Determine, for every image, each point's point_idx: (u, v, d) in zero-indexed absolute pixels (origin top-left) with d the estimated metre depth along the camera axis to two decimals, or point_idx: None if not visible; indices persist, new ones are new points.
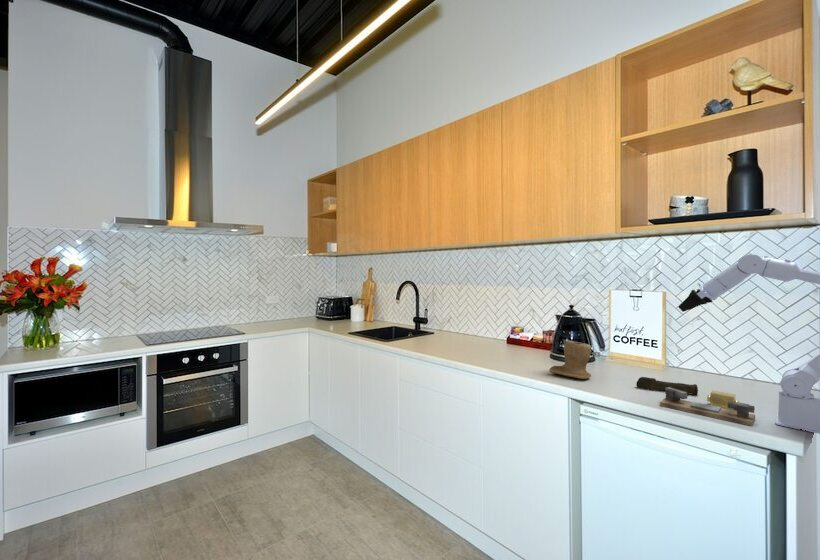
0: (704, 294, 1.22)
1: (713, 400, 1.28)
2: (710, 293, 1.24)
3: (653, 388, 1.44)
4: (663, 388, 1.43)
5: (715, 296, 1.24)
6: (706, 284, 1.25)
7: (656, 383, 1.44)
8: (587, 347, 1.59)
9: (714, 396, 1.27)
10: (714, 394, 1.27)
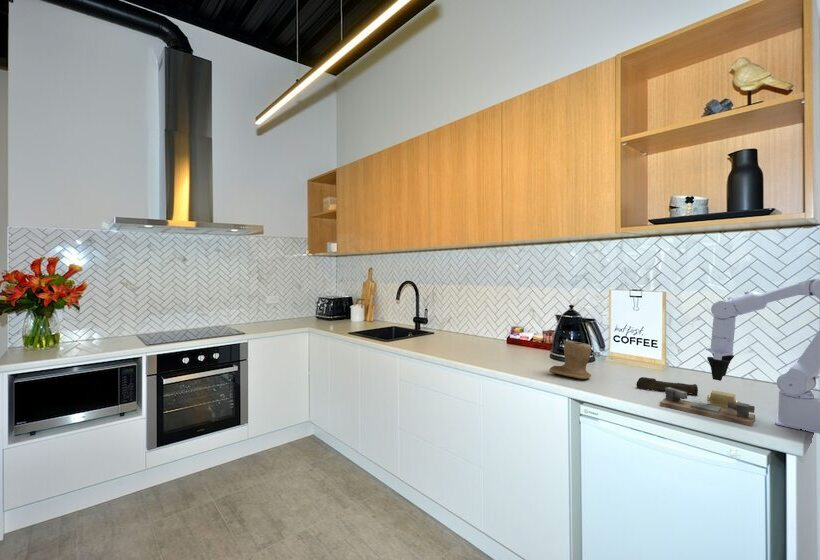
0: (719, 355, 1.22)
1: (713, 400, 1.28)
2: (723, 351, 1.25)
3: (653, 388, 1.44)
4: (663, 388, 1.43)
5: (730, 350, 1.25)
6: (712, 346, 1.27)
7: (656, 383, 1.44)
8: (587, 347, 1.59)
9: (714, 396, 1.27)
10: (714, 394, 1.27)
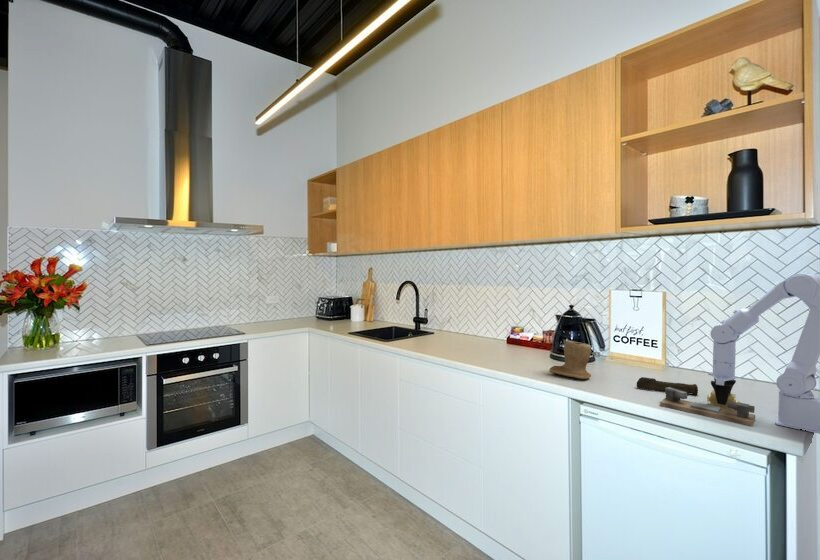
0: (721, 380, 1.22)
1: (713, 399, 1.28)
2: (725, 375, 1.25)
3: (653, 388, 1.44)
4: (663, 388, 1.43)
5: (732, 375, 1.24)
6: (714, 370, 1.27)
7: (656, 383, 1.44)
8: (587, 347, 1.59)
9: (714, 396, 1.27)
10: (714, 394, 1.27)
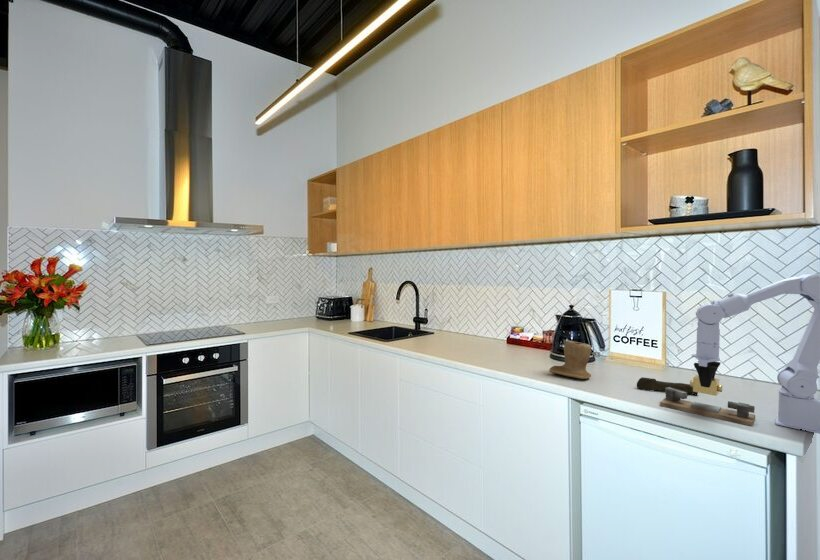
0: (704, 361, 1.17)
1: (696, 384, 1.23)
2: (709, 357, 1.20)
3: (654, 389, 1.44)
4: (664, 388, 1.42)
5: (715, 356, 1.20)
6: (698, 352, 1.23)
7: (657, 383, 1.43)
8: (587, 347, 1.59)
9: (697, 381, 1.23)
10: (697, 379, 1.23)
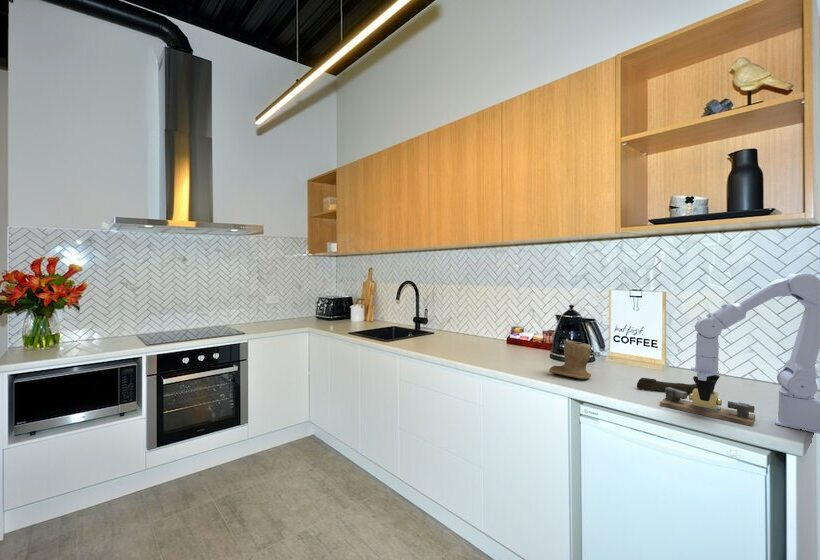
0: (703, 375, 1.17)
1: (695, 398, 1.23)
2: (708, 371, 1.20)
3: (654, 389, 1.44)
4: (664, 389, 1.42)
5: (715, 370, 1.20)
6: (697, 365, 1.22)
7: (657, 384, 1.43)
8: (587, 347, 1.59)
9: (696, 394, 1.23)
10: (696, 392, 1.23)
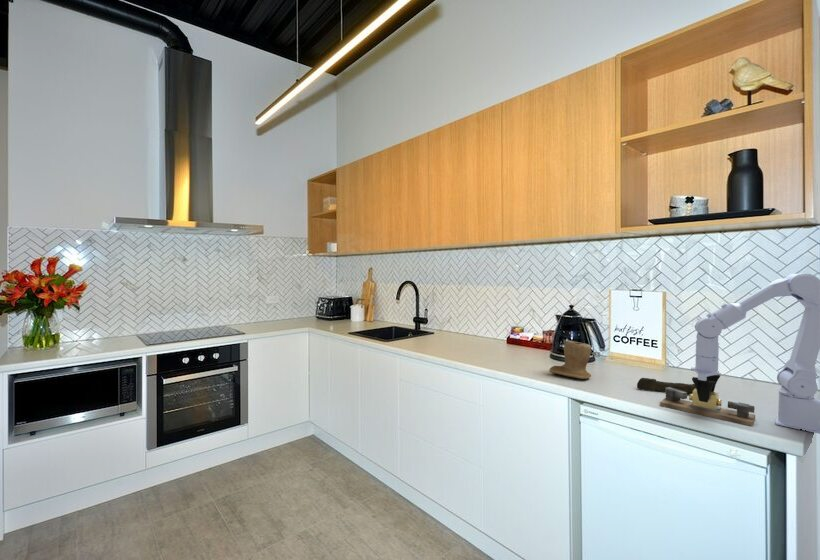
0: (703, 375, 1.17)
1: (695, 398, 1.23)
2: (708, 371, 1.20)
3: (654, 389, 1.43)
4: (664, 389, 1.42)
5: (715, 370, 1.20)
6: (697, 365, 1.22)
7: (657, 384, 1.43)
8: (587, 347, 1.59)
9: (696, 395, 1.23)
10: (696, 393, 1.23)
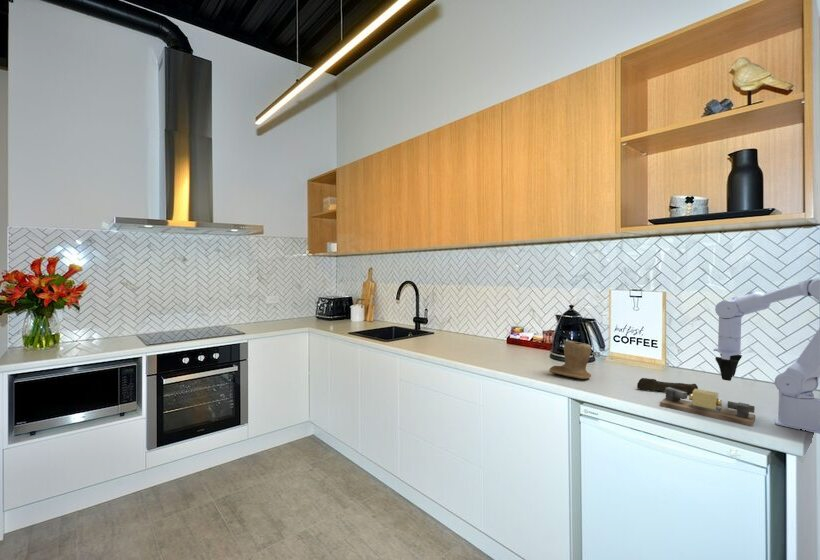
0: (727, 355, 1.22)
1: (695, 398, 1.23)
2: (731, 350, 1.25)
3: (654, 389, 1.43)
4: (664, 389, 1.42)
5: (737, 350, 1.25)
6: (720, 346, 1.28)
7: (657, 384, 1.43)
8: (587, 347, 1.59)
9: (696, 395, 1.23)
10: (696, 393, 1.23)
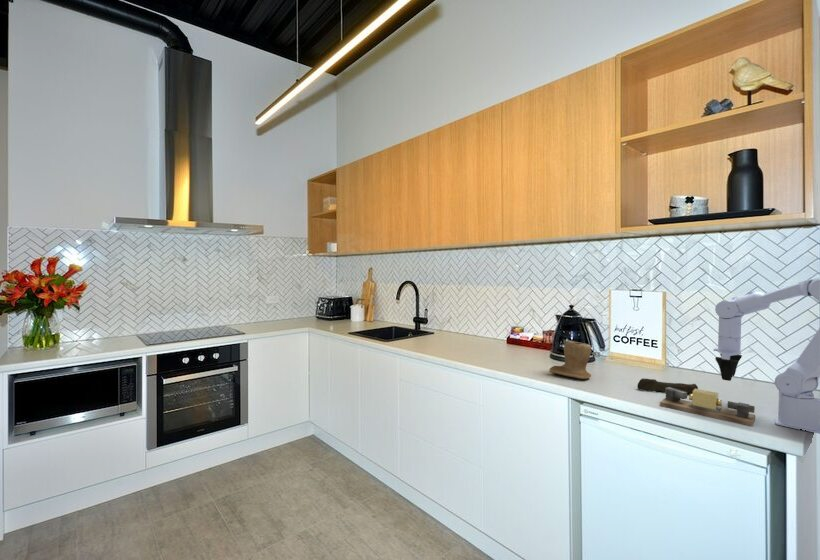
0: (727, 355, 1.22)
1: (695, 398, 1.23)
2: (731, 350, 1.25)
3: (654, 389, 1.43)
4: (664, 389, 1.42)
5: (737, 350, 1.25)
6: (720, 346, 1.28)
7: (657, 384, 1.43)
8: (587, 347, 1.59)
9: (696, 395, 1.23)
10: (696, 393, 1.23)
